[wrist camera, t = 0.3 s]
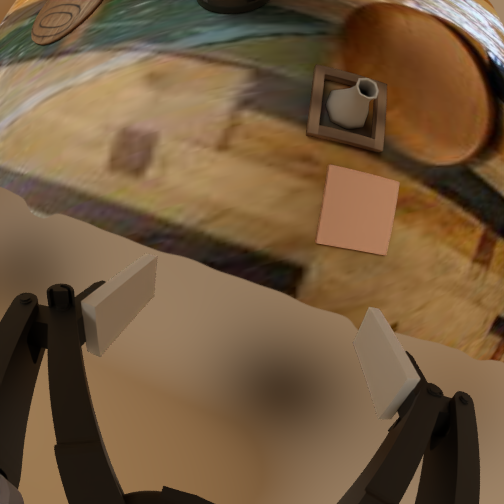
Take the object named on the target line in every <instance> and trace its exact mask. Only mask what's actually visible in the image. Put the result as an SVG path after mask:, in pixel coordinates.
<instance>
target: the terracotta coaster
mask: <svg viewBox="0 0 504 504" xmlns="http://www.w3.org/2000/svg"><path fill="white" fill-rule="evenodd" d="M398 189H399V182H397V181H394V180H390V179H387V178H383V177H380V176H376V175H372V174H368V173H364V172H360V171H356V170H352V169H348V168H344V167H339V166H335V165H330V164H329V165H328V167H327V174H326V180H325V187H324V193H323V199H322V205H321V211H320V217H319V223H318V228H317V234H316V239H315V242H316V243H318V244H324V245H330V246H336V247H341V248H347V249H353V250H358V251H364V252H370V253H375V254H380V255H386V254H387V250H388V245H389V240H390V235H391V230H392V225H393V220H394V214H395V209H396V202H397V196H398Z"/></svg>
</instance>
